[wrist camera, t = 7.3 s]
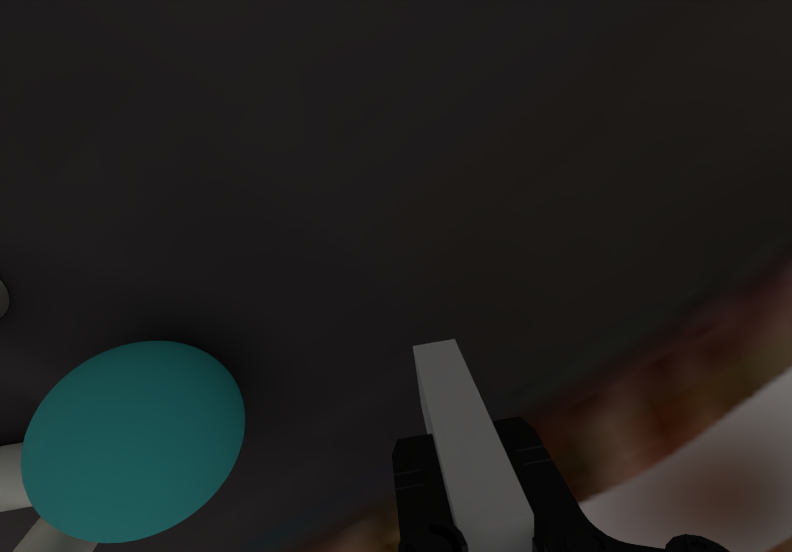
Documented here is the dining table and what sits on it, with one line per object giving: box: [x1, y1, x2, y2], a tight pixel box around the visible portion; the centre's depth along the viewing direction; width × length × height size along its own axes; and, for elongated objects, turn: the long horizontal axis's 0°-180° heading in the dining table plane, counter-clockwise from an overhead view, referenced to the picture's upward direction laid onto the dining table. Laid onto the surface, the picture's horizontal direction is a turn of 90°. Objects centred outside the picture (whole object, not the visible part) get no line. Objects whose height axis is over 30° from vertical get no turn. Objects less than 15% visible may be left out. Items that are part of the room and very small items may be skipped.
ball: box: [21, 341, 245, 543], centre depth 13 cm, size 6×6×6 cm
